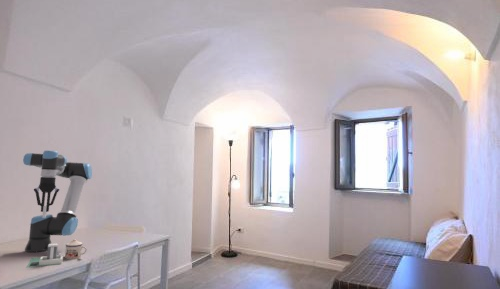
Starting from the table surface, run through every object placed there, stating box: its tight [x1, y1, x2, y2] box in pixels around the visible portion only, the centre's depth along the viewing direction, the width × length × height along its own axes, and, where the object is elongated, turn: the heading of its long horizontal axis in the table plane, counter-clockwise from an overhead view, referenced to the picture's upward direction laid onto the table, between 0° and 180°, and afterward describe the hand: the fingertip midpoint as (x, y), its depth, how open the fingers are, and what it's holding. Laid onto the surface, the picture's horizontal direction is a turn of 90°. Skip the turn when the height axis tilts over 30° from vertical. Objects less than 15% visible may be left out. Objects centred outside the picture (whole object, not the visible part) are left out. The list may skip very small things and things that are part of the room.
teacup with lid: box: [64, 238, 88, 260], centre depth 195 cm, size 12×9×12 cm
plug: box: [46, 243, 59, 259], centre depth 181 cm, size 5×4×10 cm
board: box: [26, 252, 62, 268], centre depth 182 cm, size 18×16×3 cm
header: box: [39, 254, 64, 265], centre depth 181 cm, size 8×11×3 cm
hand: (44, 217), depth 183 cm, fingers closed
